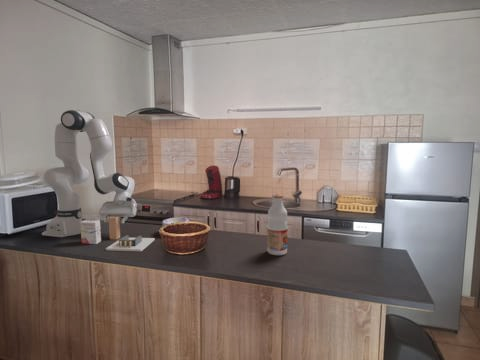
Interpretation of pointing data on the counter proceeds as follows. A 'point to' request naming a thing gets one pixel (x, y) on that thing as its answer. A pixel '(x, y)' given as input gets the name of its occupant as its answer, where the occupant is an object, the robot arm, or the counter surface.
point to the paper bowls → (174, 221)
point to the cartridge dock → (130, 244)
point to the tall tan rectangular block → (114, 227)
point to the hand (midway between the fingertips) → (113, 222)
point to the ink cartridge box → (91, 230)
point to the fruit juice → (277, 227)
